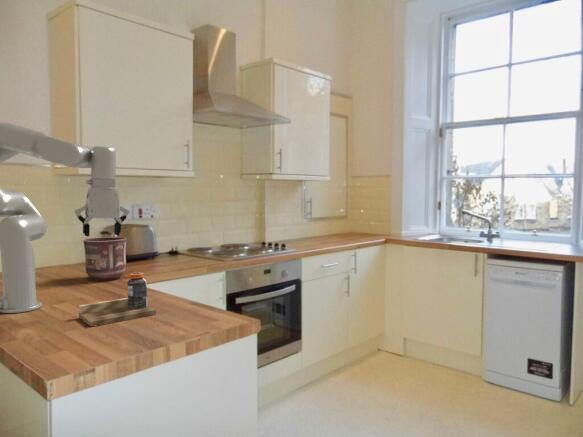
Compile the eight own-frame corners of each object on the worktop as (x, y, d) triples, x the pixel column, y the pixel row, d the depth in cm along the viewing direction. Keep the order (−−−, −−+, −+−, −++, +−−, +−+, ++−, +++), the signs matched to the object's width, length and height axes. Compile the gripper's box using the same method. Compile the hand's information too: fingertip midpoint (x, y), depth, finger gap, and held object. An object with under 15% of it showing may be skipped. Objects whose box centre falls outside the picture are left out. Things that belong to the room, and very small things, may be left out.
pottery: (118, 282, 194) (117, 241, 193) (77, 282, 194) (76, 241, 193) (132, 275, 211) (132, 236, 210) (95, 275, 211) (94, 236, 210)
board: (90, 327, 132) (90, 313, 132) (79, 318, 141) (78, 305, 141) (156, 314, 145) (155, 302, 144) (141, 307, 154) (141, 295, 154)
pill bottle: (149, 304, 151) (148, 271, 150) (144, 309, 145) (143, 274, 144) (131, 304, 151) (130, 271, 150) (125, 309, 145) (124, 275, 144)
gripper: (78, 183, 141) (77, 237, 142) (133, 185, 152) (131, 235, 153) (72, 182, 147) (71, 234, 148) (125, 184, 158) (124, 233, 159)
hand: (102, 235), depth 151 cm, fingers open, 9 cm apart
